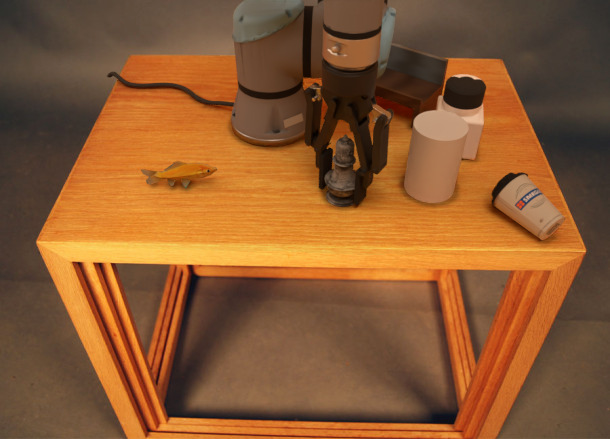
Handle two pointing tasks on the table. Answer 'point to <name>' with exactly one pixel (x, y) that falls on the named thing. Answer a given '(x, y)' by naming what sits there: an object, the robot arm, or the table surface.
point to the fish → (180, 173)
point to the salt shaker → (342, 174)
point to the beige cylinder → (435, 155)
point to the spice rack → (412, 79)
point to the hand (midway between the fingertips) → (342, 192)
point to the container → (465, 107)
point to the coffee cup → (526, 205)
